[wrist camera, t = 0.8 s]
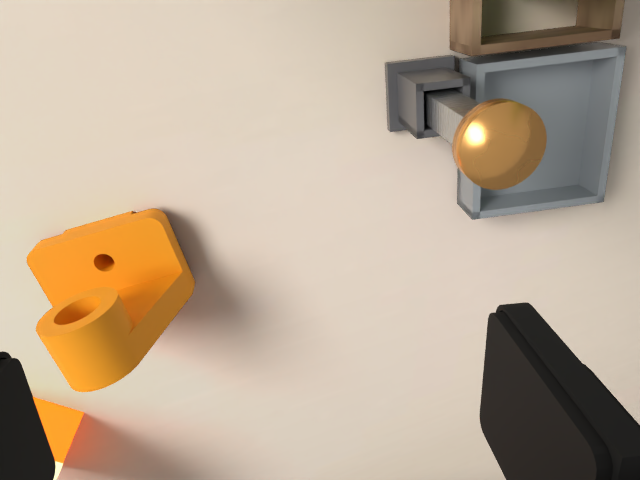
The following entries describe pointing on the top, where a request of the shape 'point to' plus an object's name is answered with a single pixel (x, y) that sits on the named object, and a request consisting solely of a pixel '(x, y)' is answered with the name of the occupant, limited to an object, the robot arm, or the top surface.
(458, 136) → the plunger
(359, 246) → the top surface
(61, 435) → the orange juice
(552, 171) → the tray
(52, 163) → the top surface
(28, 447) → the robot arm
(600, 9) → the wooden box
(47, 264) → the bracket
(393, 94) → the plunger collar
